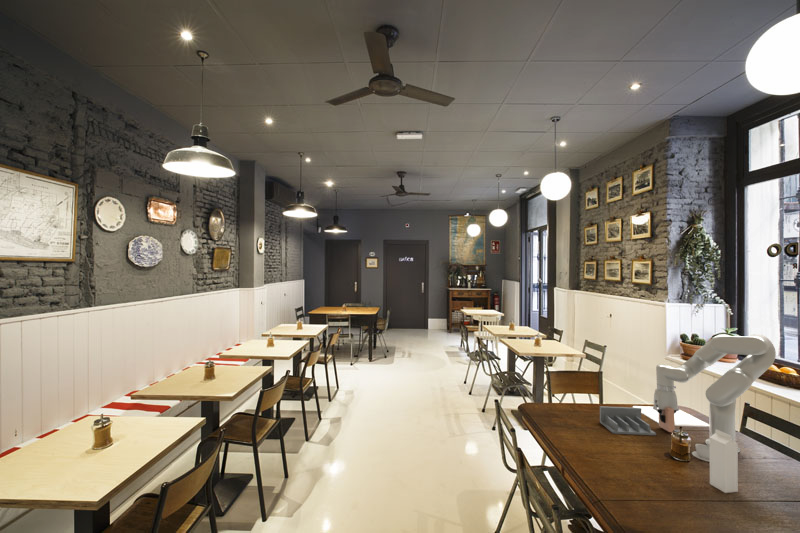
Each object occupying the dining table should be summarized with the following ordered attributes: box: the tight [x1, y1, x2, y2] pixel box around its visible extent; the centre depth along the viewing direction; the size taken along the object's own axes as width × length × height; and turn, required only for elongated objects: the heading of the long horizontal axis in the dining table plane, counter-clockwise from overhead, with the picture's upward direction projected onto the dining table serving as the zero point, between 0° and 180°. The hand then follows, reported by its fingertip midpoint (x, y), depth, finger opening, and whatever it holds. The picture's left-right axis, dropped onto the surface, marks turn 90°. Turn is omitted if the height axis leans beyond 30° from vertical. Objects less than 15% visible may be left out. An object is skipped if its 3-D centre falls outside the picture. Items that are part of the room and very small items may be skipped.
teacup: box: [691, 443, 710, 463], centre depth 164 cm, size 10×10×5 cm
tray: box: [632, 405, 709, 428], centre depth 212 cm, size 28×28×2 cm
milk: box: [709, 429, 739, 494], centre depth 141 cm, size 6×6×22 cm
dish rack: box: [599, 405, 657, 436], centre depth 194 cm, size 14×22×9 cm, turn 86°
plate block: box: [658, 408, 676, 433], centre depth 192 cm, size 8×3×12 cm, turn 176°
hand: (666, 421), depth 192 cm, fingers closed on plate block, 3 cm apart
